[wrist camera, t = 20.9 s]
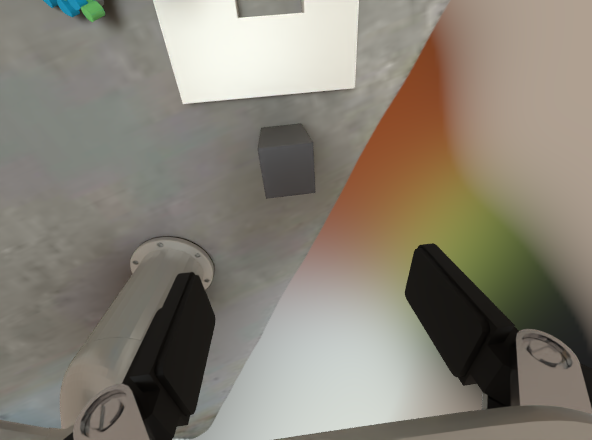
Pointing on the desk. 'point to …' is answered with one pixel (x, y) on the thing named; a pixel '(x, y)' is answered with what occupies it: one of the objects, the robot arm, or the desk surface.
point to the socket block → (258, 48)
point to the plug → (286, 161)
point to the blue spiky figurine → (80, 7)
